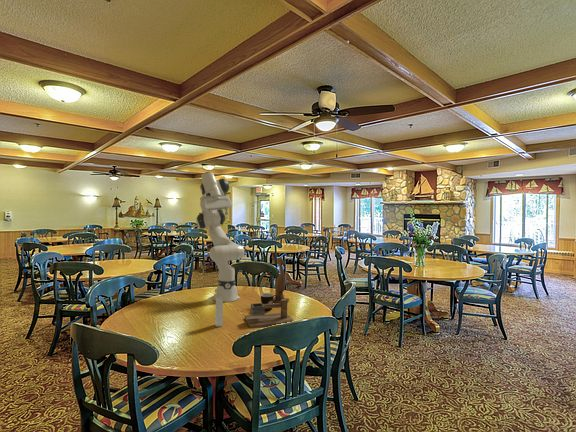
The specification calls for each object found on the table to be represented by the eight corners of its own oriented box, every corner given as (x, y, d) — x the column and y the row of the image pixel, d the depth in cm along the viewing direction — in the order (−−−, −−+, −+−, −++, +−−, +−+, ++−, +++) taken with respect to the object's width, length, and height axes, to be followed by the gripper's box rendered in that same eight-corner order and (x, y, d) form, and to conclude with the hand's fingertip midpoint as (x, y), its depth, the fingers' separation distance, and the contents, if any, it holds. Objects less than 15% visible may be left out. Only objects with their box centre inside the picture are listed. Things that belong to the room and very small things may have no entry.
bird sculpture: (284, 306, 224) (286, 259, 223) (268, 303, 228) (270, 257, 227) (289, 301, 235) (292, 257, 234) (274, 299, 239) (276, 255, 238)
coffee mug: (261, 312, 208) (261, 297, 208) (259, 308, 216) (259, 293, 216) (279, 311, 211) (279, 296, 211) (276, 307, 220) (276, 292, 219)
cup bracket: (244, 318, 197) (245, 298, 197) (286, 315, 205) (286, 295, 204) (249, 328, 182) (250, 306, 181) (294, 324, 189) (294, 303, 189)
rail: (215, 324, 186) (215, 296, 185) (221, 324, 187) (222, 296, 186) (215, 326, 182) (216, 298, 182) (222, 326, 183) (222, 297, 183)
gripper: (225, 196, 217) (231, 215, 214) (197, 198, 203) (203, 219, 200) (230, 192, 212) (236, 211, 210) (201, 194, 198) (208, 215, 196)
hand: (220, 215), depth 205 cm, fingers open, 8 cm apart
